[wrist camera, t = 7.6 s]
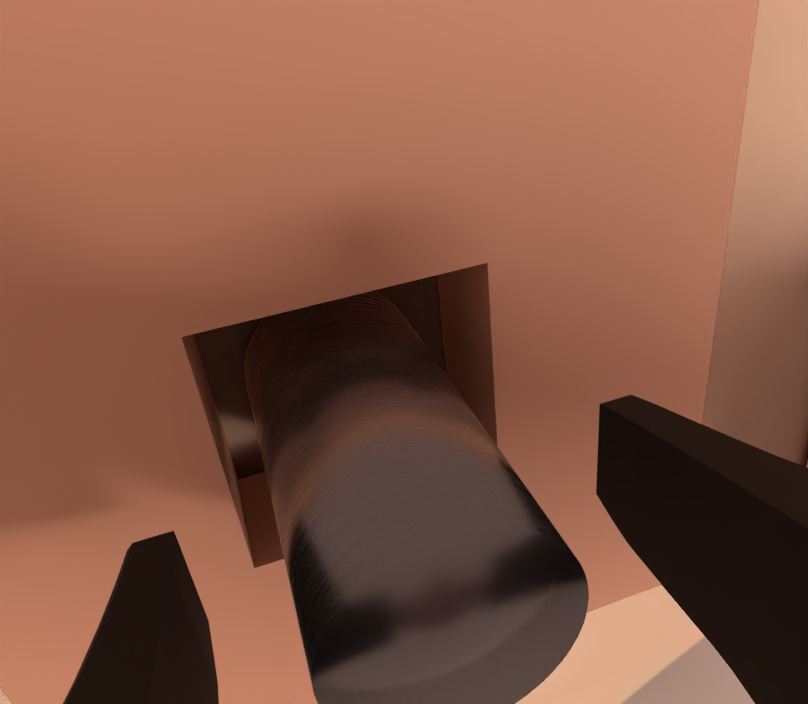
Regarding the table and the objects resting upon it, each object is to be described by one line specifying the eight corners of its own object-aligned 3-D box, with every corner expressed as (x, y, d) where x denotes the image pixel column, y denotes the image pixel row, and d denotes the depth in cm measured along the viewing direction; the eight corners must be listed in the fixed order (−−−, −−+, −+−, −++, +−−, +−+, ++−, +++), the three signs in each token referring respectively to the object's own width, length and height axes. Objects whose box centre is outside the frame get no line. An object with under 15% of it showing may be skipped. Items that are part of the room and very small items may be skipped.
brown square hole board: (659, -99, 14) (774, -113, 11) (620, 507, 22) (681, 577, 19) (-289, 25, 10) (-428, 45, 8) (85, 687, 18) (76, 801, 16)
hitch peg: (404, 264, 16) (591, 491, 9) (422, 409, 18) (586, 682, 11) (224, 306, 15) (282, 591, 8) (265, 454, 17) (339, 777, 10)
